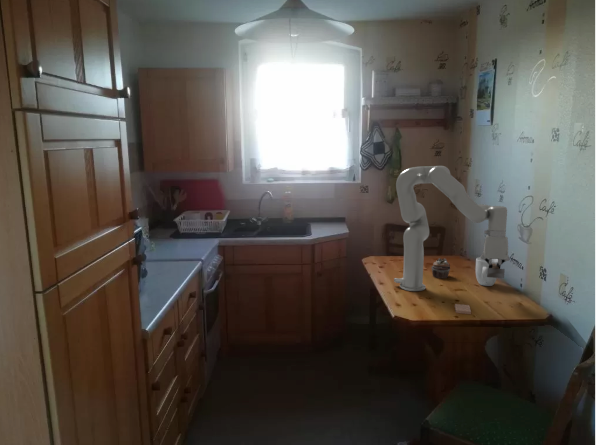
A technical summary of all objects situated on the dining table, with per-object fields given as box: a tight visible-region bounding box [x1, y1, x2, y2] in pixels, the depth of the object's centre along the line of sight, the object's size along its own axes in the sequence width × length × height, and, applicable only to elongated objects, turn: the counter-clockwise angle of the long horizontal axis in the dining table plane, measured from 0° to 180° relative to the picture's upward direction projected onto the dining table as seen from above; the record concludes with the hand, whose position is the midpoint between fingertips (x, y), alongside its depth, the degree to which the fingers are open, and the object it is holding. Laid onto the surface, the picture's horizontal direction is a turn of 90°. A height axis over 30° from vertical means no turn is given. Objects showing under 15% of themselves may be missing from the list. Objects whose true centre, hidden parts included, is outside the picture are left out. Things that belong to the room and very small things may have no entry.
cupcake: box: [431, 257, 451, 279], centre depth 255 cm, size 10×10×10 cm
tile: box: [454, 303, 472, 315], centre depth 206 cm, size 6×2×8 cm
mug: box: [475, 256, 498, 287], centre depth 239 cm, size 15×11×13 cm
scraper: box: [487, 263, 506, 279], centre depth 216 cm, size 7×12×4 cm, turn 165°
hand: (494, 272), depth 216 cm, fingers closed on scraper, 2 cm apart
